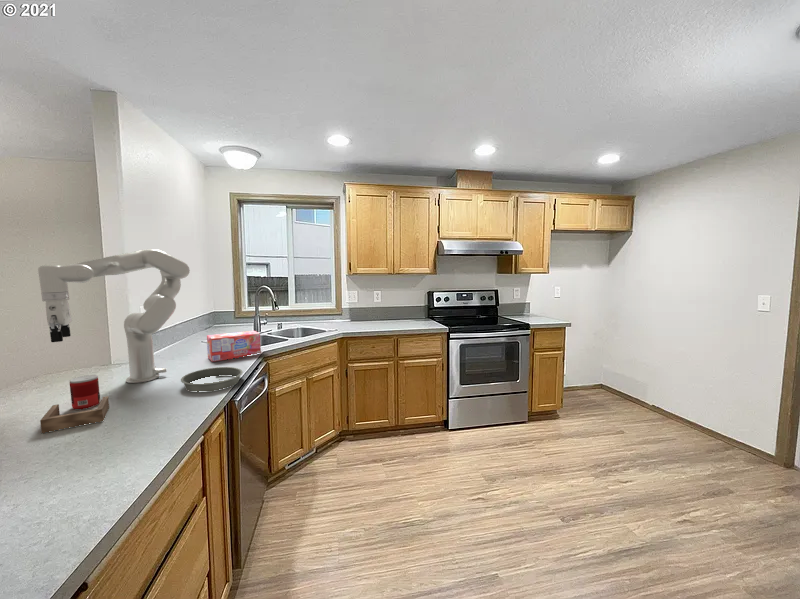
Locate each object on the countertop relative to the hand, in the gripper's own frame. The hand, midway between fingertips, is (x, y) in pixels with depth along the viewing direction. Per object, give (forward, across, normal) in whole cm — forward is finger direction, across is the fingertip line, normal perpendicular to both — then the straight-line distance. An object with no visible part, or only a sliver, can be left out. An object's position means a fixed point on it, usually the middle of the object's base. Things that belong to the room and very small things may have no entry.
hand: (61, 339), depth 135 cm
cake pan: (+26, -12, -51) cm, 58 cm away
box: (+26, +34, -64) cm, 77 cm away
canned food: (+25, -14, -8) cm, 30 cm away
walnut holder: (+24, -28, -9) cm, 38 cm away
